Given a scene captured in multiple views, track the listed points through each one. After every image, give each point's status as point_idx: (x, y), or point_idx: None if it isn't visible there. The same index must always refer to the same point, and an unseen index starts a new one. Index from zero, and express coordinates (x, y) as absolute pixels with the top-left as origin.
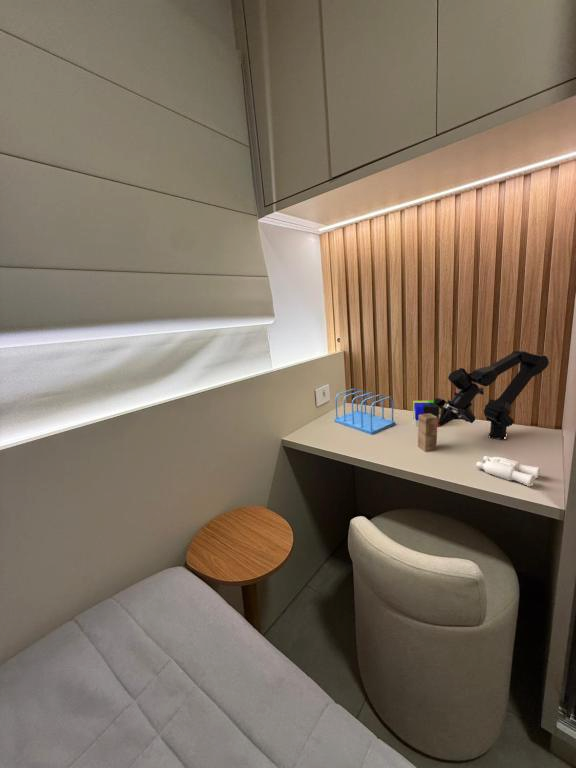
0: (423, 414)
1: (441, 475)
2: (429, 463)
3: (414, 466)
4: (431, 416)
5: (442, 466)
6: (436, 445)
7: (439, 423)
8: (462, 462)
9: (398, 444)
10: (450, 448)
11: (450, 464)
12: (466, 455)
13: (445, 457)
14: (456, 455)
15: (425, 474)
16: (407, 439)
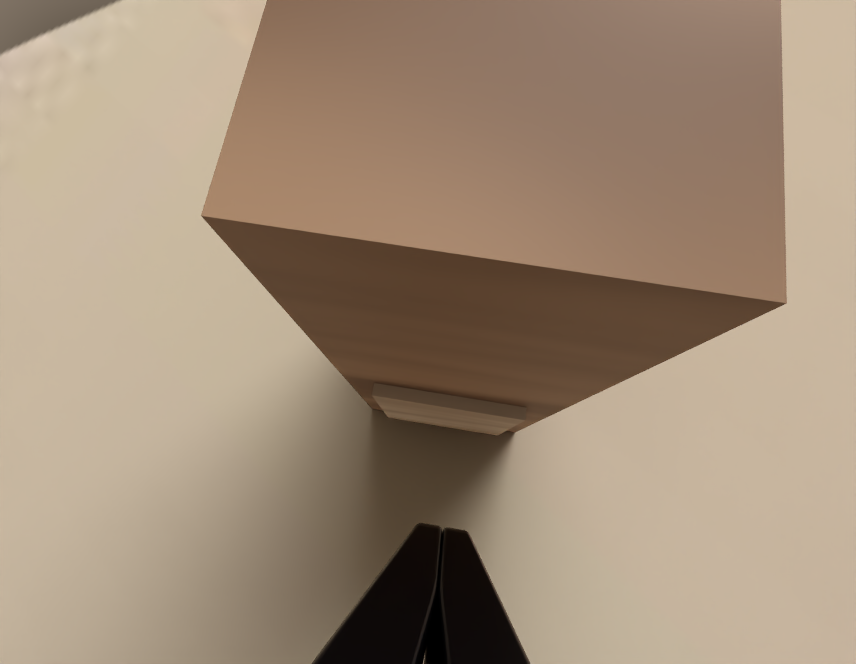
0: (741, 2)
1: (5, 96)
2: (199, 151)
3: (233, 25)
4: (406, 87)
5: (94, 204)
6: (366, 401)
7: (433, 543)
8: (22, 420)
9: None
10: (317, 586)
11: (72, 290)
12: (89, 599)
13: (194, 358)
14: (157, 496)
15: (94, 15)
16: (748, 328)
